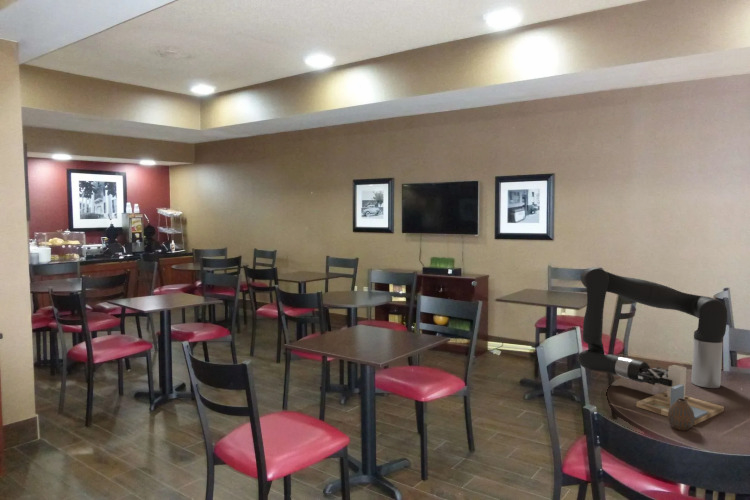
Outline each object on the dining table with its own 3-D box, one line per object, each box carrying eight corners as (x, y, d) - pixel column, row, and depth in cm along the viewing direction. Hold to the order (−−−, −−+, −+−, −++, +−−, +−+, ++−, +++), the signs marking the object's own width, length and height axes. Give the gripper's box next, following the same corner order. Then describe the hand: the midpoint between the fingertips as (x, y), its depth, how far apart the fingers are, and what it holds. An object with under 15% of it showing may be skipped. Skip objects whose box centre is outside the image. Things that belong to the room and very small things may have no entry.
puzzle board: (666, 396, 182) (666, 390, 182) (723, 412, 167) (723, 406, 167) (636, 407, 170) (636, 401, 170) (694, 426, 156) (694, 420, 156)
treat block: (672, 398, 178) (674, 364, 177) (684, 401, 175) (686, 367, 174) (666, 400, 176) (668, 366, 175) (679, 404, 173) (680, 369, 172)
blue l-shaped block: (680, 405, 167) (681, 383, 166) (707, 413, 160) (708, 390, 160) (668, 410, 162) (669, 388, 162) (695, 418, 156) (696, 395, 155)
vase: (690, 425, 157) (692, 397, 156) (696, 434, 150) (698, 405, 150) (665, 421, 159) (666, 394, 159) (670, 430, 153) (671, 402, 152)
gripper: (621, 362, 184) (668, 374, 170) (642, 356, 192) (688, 367, 178) (620, 382, 184) (667, 396, 171) (641, 375, 192) (687, 388, 179)
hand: (678, 381), depth 174 cm, fingers open, 8 cm apart
